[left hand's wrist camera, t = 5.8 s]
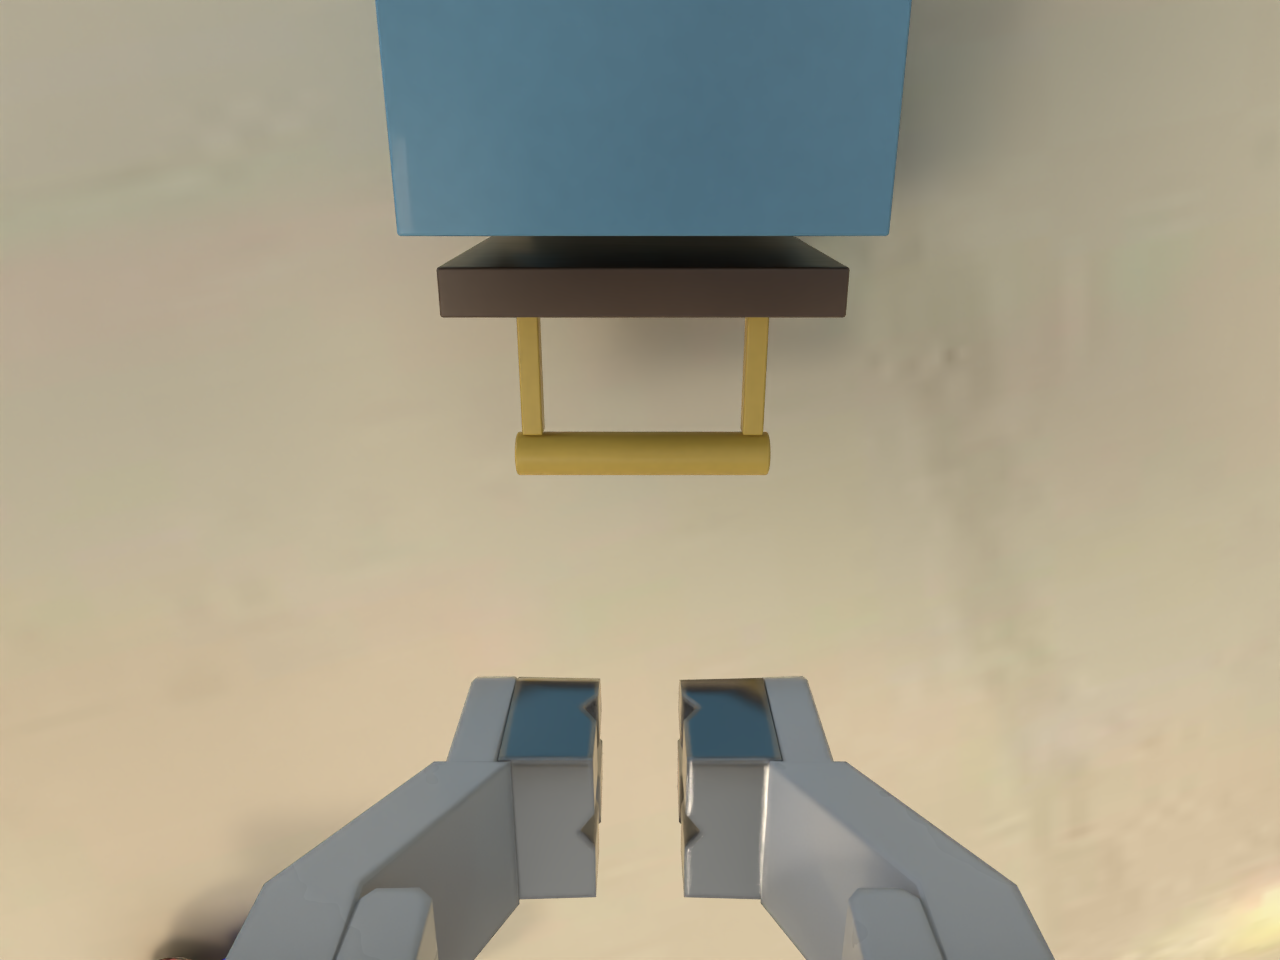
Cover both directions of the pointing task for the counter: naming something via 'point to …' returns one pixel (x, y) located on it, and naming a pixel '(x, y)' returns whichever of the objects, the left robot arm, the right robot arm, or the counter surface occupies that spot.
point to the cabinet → (643, 116)
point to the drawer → (642, 287)
